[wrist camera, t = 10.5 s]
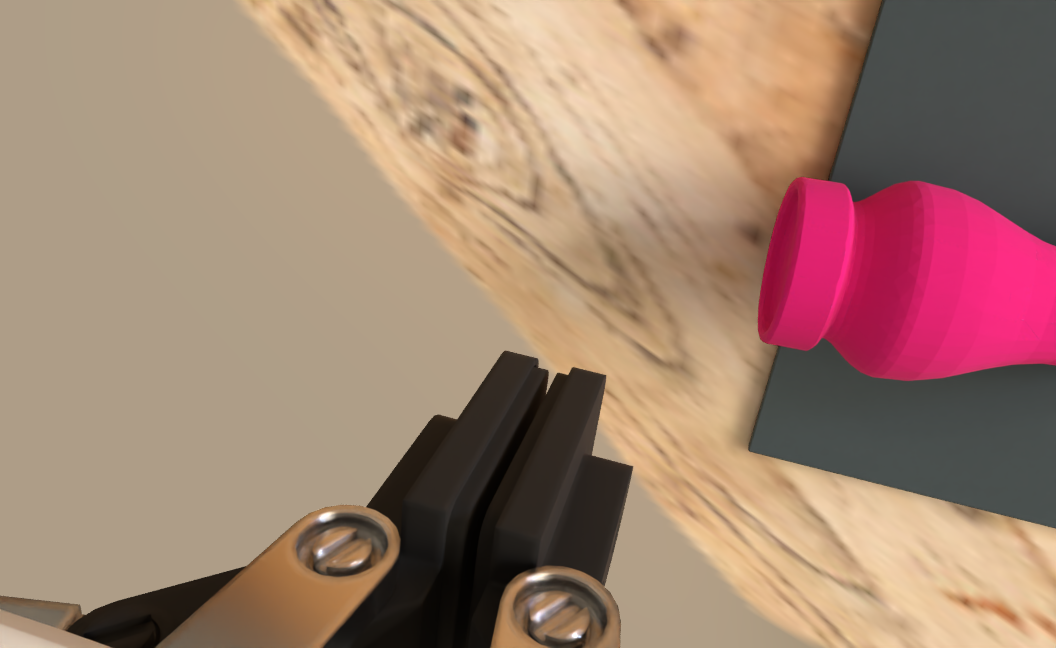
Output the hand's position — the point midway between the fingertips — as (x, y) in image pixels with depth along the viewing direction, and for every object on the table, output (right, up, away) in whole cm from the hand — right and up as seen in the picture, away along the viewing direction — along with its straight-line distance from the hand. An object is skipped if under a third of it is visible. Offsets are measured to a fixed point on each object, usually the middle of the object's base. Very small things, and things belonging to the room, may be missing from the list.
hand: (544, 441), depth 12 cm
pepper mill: (+9, +4, +16) cm, 19 cm away
